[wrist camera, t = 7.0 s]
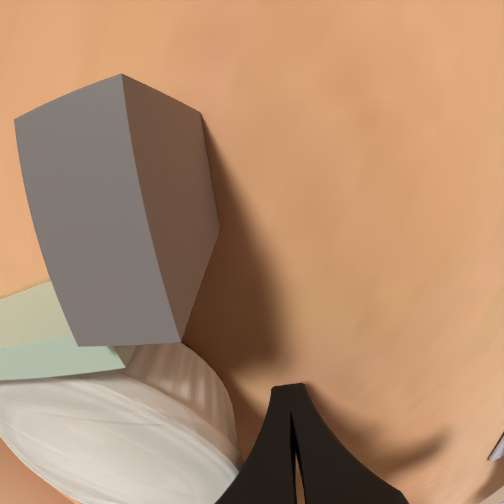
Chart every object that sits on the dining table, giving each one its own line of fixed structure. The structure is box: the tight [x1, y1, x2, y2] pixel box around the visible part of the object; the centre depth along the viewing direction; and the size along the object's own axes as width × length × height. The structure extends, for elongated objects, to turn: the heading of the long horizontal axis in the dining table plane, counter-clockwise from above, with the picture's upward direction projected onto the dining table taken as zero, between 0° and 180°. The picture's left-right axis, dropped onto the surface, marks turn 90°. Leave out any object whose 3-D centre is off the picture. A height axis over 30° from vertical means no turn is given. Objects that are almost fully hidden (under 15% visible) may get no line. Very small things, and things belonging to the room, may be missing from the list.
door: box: [0, 281, 137, 380], centre depth 9 cm, size 2×13×6 cm, turn 107°
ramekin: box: [0, 342, 245, 504], centre depth 11 cm, size 11×11×5 cm
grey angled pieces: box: [14, 74, 221, 347], centre depth 11 cm, size 2×26×6 cm, turn 9°
